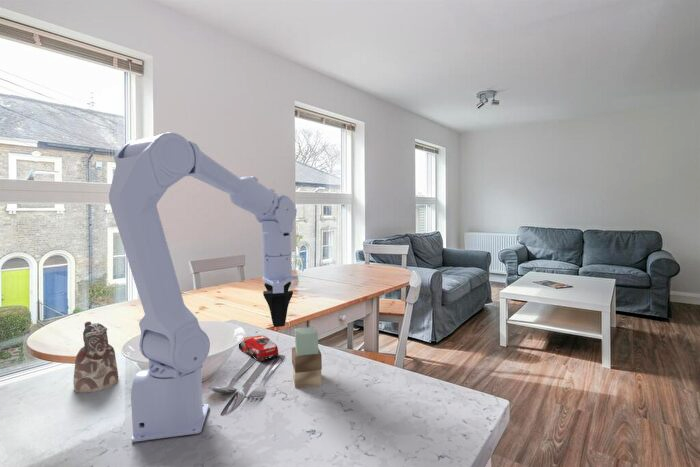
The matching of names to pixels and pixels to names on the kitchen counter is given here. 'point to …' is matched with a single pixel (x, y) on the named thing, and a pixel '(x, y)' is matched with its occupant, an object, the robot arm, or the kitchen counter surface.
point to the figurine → (95, 361)
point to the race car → (259, 347)
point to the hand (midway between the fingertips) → (278, 320)
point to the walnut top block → (306, 361)
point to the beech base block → (307, 378)
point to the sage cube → (306, 341)
